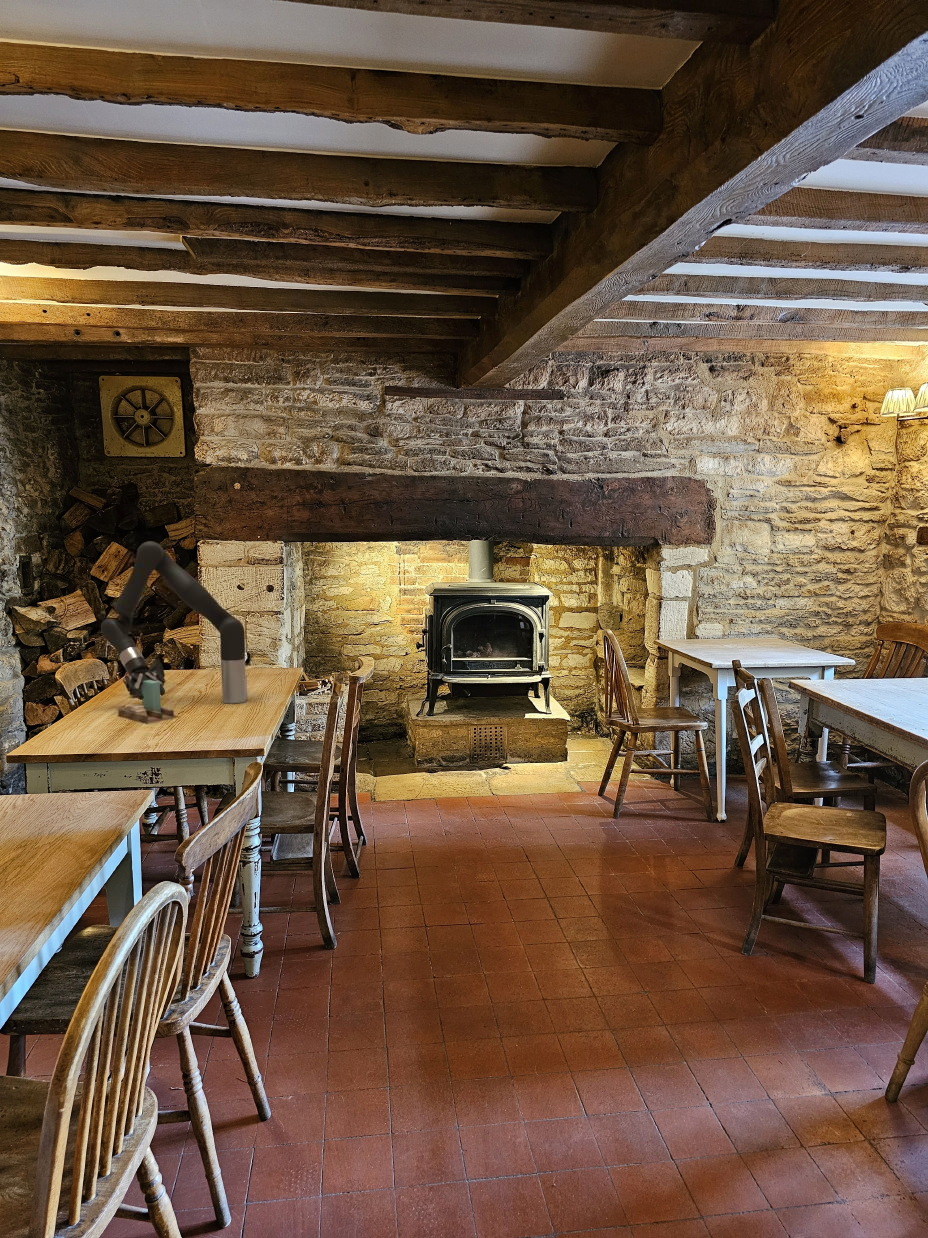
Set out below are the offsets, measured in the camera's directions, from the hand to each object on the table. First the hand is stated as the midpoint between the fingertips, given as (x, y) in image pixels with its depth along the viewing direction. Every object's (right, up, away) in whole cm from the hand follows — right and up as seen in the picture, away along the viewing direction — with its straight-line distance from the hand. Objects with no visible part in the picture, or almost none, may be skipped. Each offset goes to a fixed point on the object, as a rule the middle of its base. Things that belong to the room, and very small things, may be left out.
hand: (152, 696), depth 296 cm
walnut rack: (-1, -8, -2) cm, 9 cm away
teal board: (-1, -6, +2) cm, 7 cm away
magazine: (-20, -2, +48) cm, 52 cm away
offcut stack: (-5, -7, -4) cm, 9 cm away
